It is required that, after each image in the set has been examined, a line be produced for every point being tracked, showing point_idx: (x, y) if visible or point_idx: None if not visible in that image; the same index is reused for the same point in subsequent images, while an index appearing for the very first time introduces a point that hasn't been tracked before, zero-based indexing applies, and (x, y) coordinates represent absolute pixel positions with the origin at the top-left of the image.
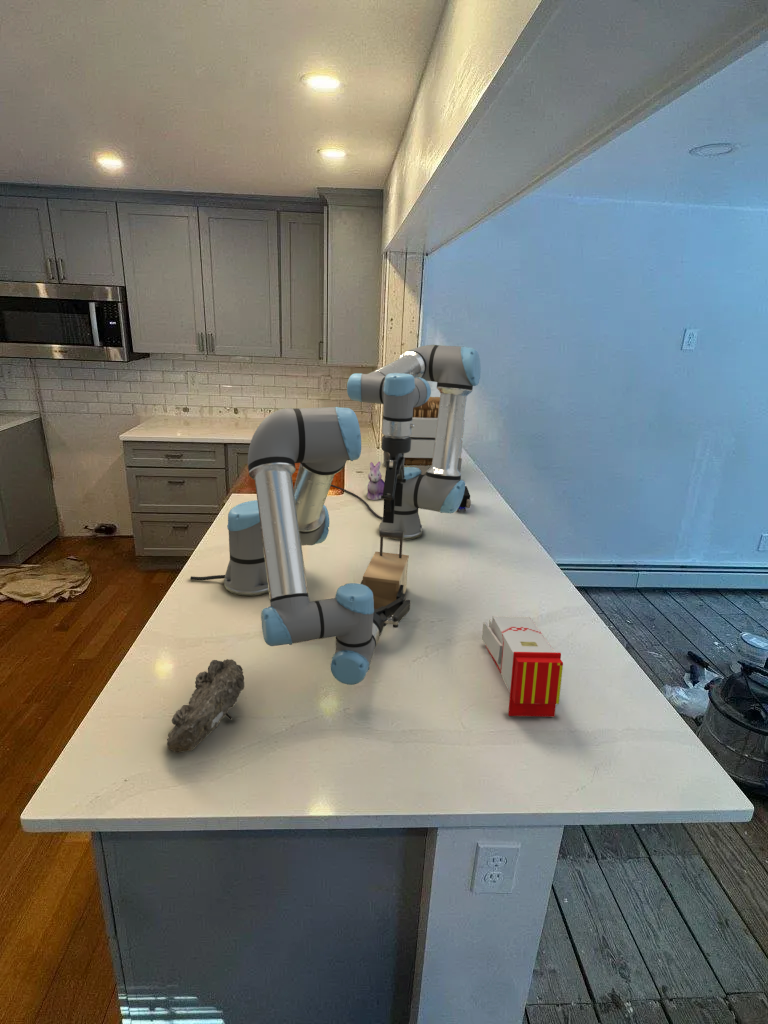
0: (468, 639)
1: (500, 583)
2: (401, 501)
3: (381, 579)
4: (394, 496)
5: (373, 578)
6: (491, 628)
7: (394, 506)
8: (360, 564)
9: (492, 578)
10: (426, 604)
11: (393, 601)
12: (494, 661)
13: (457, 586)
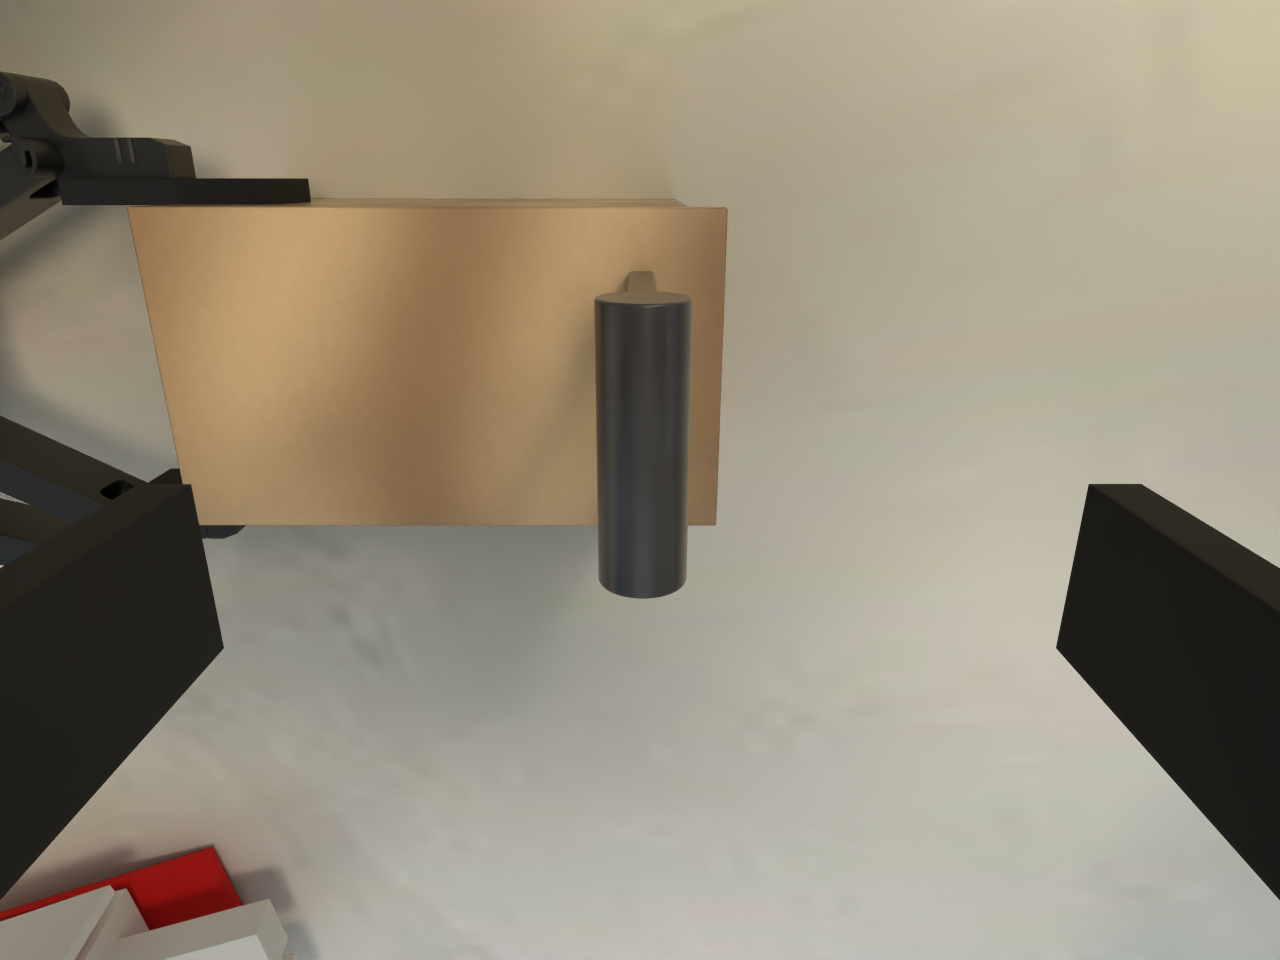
0: (245, 780)
1: (876, 899)
2: (1106, 703)
3: (165, 380)
4: (1200, 618)
5: (149, 310)
6: (205, 928)
7: (20, 872)
8: (1034, 2)
9: (932, 865)
10: (521, 568)
11: (56, 484)
12: (29, 905)
13: (792, 707)
